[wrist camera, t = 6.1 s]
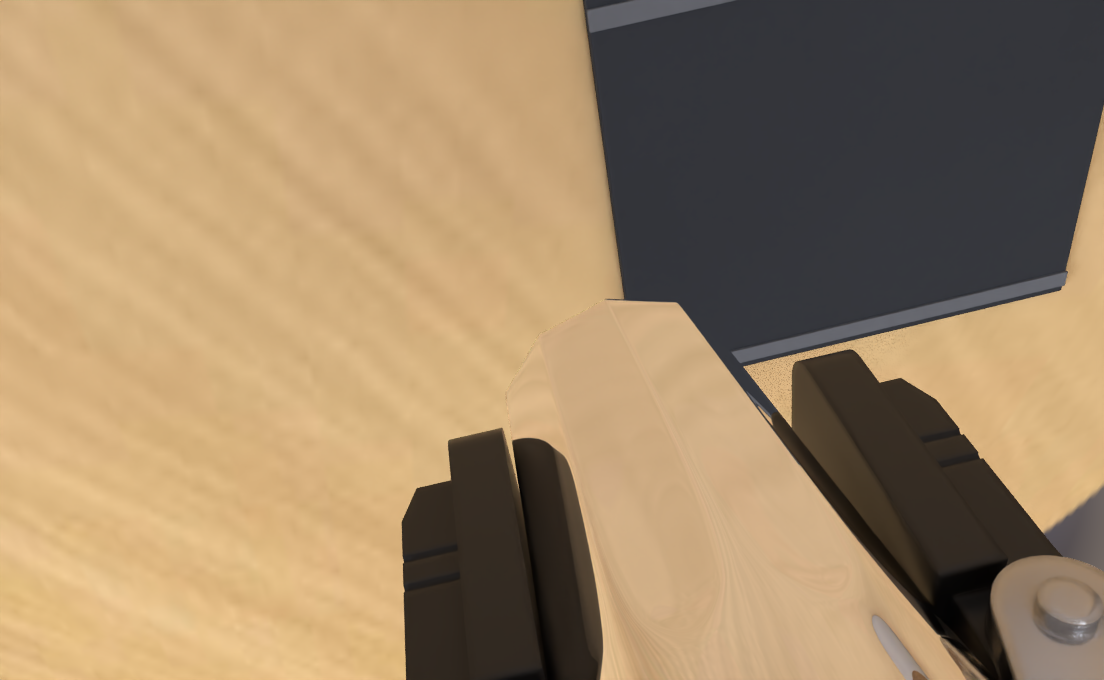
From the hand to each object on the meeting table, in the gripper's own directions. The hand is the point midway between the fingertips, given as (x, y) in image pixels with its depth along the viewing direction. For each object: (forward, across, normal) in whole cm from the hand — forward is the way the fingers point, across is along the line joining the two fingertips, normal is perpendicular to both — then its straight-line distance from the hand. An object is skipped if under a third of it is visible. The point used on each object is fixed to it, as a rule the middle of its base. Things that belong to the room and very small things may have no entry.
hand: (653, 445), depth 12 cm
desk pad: (+16, -10, +6) cm, 20 cm away
